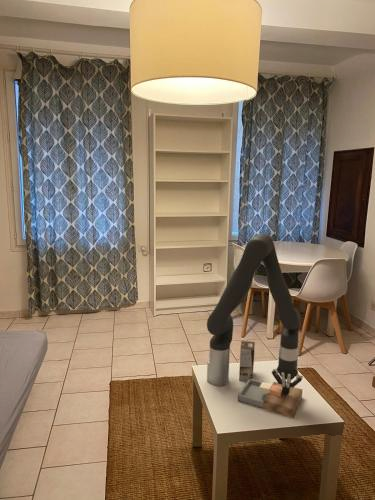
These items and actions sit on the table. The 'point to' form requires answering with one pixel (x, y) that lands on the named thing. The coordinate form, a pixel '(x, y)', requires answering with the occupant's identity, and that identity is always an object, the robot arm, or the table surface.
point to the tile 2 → (276, 390)
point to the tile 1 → (265, 387)
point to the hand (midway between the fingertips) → (285, 394)
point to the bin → (252, 394)
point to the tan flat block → (283, 402)
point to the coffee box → (246, 360)
